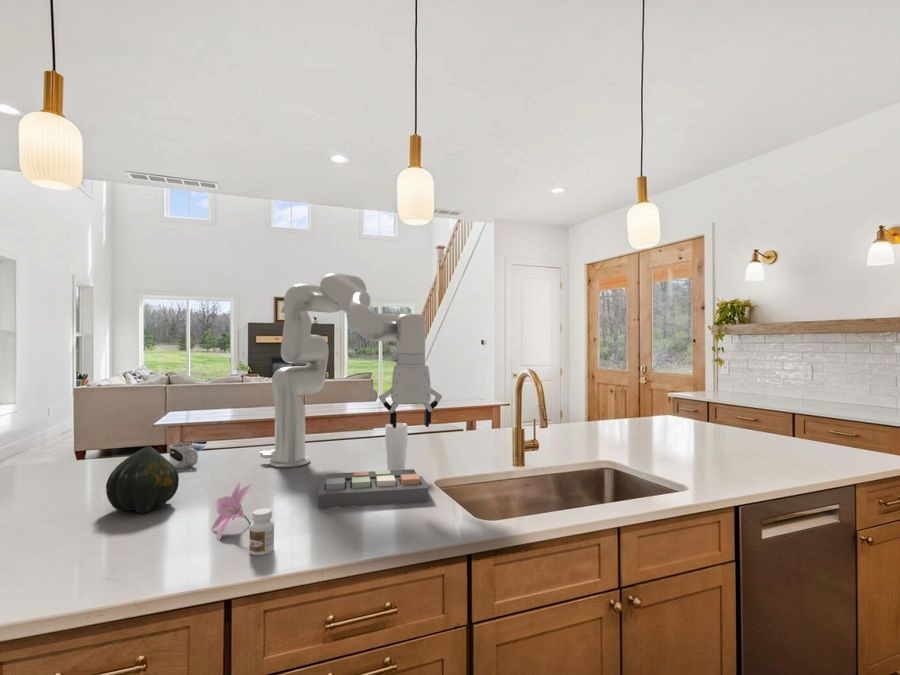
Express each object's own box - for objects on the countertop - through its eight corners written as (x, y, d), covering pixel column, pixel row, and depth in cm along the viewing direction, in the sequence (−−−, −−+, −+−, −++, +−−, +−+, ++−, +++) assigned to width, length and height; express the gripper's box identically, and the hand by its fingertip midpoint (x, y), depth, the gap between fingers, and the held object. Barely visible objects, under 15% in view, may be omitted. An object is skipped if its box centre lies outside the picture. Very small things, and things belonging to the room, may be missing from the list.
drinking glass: (403, 477, 141) (403, 427, 141) (381, 476, 142) (382, 426, 142) (409, 471, 147) (410, 423, 147) (389, 470, 149) (389, 422, 149)
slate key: (325, 493, 119) (326, 484, 119) (326, 488, 123) (326, 478, 123) (344, 492, 120) (344, 483, 120) (344, 486, 124) (344, 477, 124)
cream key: (377, 490, 121) (377, 481, 121) (376, 485, 126) (376, 476, 126) (395, 489, 122) (395, 480, 122) (393, 484, 127) (393, 475, 127)
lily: (219, 523, 108) (199, 492, 104) (270, 499, 111) (252, 468, 107) (215, 561, 98) (192, 528, 94) (271, 534, 100) (251, 501, 96)
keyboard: (318, 509, 115) (318, 491, 115) (321, 488, 130) (321, 472, 130) (428, 501, 121) (428, 484, 121) (418, 482, 136) (418, 467, 136)
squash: (110, 503, 102) (158, 442, 111) (80, 493, 110) (127, 437, 119) (162, 530, 111) (203, 472, 120) (131, 519, 119) (171, 465, 128)
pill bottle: (244, 553, 91) (244, 513, 91) (261, 544, 95) (261, 505, 95) (262, 557, 89) (262, 516, 89) (278, 548, 93) (279, 508, 93)
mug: (164, 467, 150) (164, 446, 150) (183, 462, 156) (183, 442, 156) (187, 470, 146) (187, 449, 146) (205, 465, 152) (205, 444, 153)
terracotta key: (402, 489, 123) (402, 479, 123) (400, 483, 127) (400, 474, 127) (419, 488, 124) (420, 478, 124) (417, 482, 128) (417, 473, 128)
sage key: (352, 492, 120) (352, 482, 120) (351, 486, 125) (351, 477, 125) (370, 491, 121) (370, 481, 121) (369, 485, 126) (369, 476, 126)
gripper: (378, 361, 120) (378, 430, 120) (446, 361, 124) (445, 428, 124) (376, 360, 127) (376, 425, 127) (440, 359, 131) (439, 423, 131)
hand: (410, 426), depth 126 cm, fingers open, 8 cm apart
